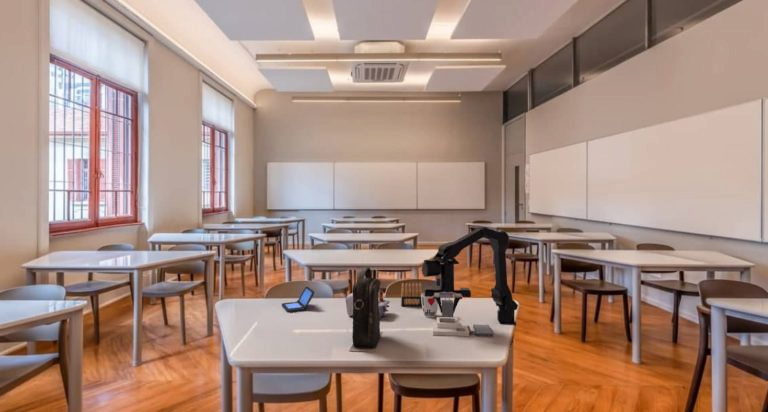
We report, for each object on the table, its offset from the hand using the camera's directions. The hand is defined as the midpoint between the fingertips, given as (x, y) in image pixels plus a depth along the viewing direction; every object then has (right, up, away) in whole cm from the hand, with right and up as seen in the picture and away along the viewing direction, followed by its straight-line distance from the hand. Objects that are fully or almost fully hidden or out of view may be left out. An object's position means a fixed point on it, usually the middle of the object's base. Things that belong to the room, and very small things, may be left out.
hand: (447, 312), depth 169 cm
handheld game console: (-69, -7, +36) cm, 78 cm away
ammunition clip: (-12, -7, +37) cm, 39 cm away
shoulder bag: (-33, -7, -14) cm, 36 cm away
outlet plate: (+1, -7, -2) cm, 7 cm away
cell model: (-34, -7, +21) cm, 40 cm away
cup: (-5, -7, +19) cm, 21 cm away
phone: (+14, -7, -4) cm, 16 cm away
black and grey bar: (+9, -7, -6) cm, 13 cm away
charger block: (0, -1, 0) cm, 1 cm away
